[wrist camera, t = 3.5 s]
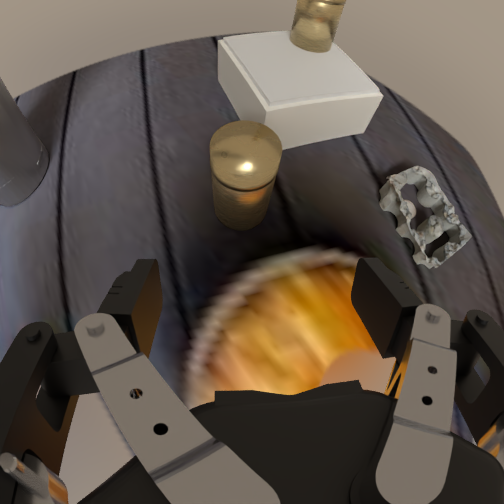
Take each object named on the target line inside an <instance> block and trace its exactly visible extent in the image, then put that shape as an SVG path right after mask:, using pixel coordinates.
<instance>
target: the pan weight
mask: <svg viewBox="0 0 504 504" xmlns="http://www.w3.org/2000/svg"><path fill="white" fill-rule="evenodd" d="M345 2H346V0H297V5H296V10H295V15H294V20H293V25H292V30H291V35H290V41H291V42H292V44H294V45H295V46H297V47H298V48H300V49H303V50H306V51H309V52H315V53H324V52H328V51H329V50H330V49H331V46H332V43H333V40H334V37H335V33H336V30H337V27H338V24H339V20H340V17H341V14H342V10H343V7H344V4H345Z"/></svg>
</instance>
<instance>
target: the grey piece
mask: <svg viewBox="0 0 504 504" xmlns="http://www.w3.org/2000/svg"><path fill="white" fill-rule="evenodd" d="M386 179H389V180H388V181H387V182H386V184H385V185H384V186H383V187H382V188H381V189H380V190H379V192H380V195H381V200H380V202H379V205H380V207H381V208H382V209H383V211H390V212H392V213H393V214H394V215H395V216H396V217H397V219H398V227H397V228H396V231H397V232H398V233H399V234H400V235H401V237H407V238H409V239H410V240H411V241H412V242H413V244H414V246H415V252H414V255H413V258H414V260H415V262H416V263H417V264H424V265H426V266H427V267H428V268H429V269H430V268H431V267H433V266H435V268H437V267H438V266H439V265H441V264H442V263H443V262H444V261H446V260H447V259H448V258H449V257H450V256H452V255H453V254H454V253H455V252H456V251H458V250H459V249H460V248H461V247H462V246H463V245H465V244H466V243H467V242H468V241H469V239H470V238H471V237H472V236H471V234H470V233H469V232H468V231H467V230H466V228H465V227H464V225H463V224H461V223H460V222H459V219H458V215H455V213H454V206H453V205H452V204H451V203H450V202H449V201H448V199H447V197H446V195H445V194H444V193H443V192H442V190H441V189H440V187H439V185H438V183H437V181H436V179H435V177H434V175H433V174H432V173H431V172H430V171H429V170H427V169H425V168H422V167H420V166H415V167H412V168H410V169H408V170H404V171H402V172H401V173H399V174H394V175H391V176H388V177H386ZM406 183H408V184H414V185H415V186H416V187H417V188H418V190H419V191H418V192H417V199H418V201H419V202H420V204H421V205H422V206H424V207H430V208H431V209H432V210H433V212H434V214H435V215H431V216H430V217H429V218H427V219H426V220H425V221H424V222H422V223H421V224H420V225H419V226H418V227H417V231H416V230H414V229H410V221H411V218H413V217H414V216H415V215H416V208H415V206H414V204H413V203H412V202H410V201H408V200H403V199H402V196H401V191H400V189H401V188H402V187H403V186H404V185H405V184H406ZM443 232H446V233H447V234H448V236H449V238H450V239H449V241H448V242H447V243H446V244H445V245H443V246H442V247H440V248H438V249H437V250H435V251H434V252H433V255H432V257H430V258H427V256H426V254H425V252H424V250H425V245H426V244H429V243H431V242H432V241H434V240H435V239H437V238H438V237H439V236H441V235H442V234H443Z"/></svg>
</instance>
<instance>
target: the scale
mask: <svg viewBox="0 0 504 504" xmlns="http://www.w3.org/2000/svg"><path fill="white" fill-rule="evenodd" d="M290 35H291V31H275V32H263V33H253V34H244V35H236V36H229V37H223V40H218V81H219V83H220V85H221V86H222V88H223V90H224V92H225V93H226V95H227V97H228V99H229V101H230V102H231V104H232V106H233V108H234V110H235V111H236V113H237V115H238V117H239V119H240V120H241V121H242V120H247V121H254V122H258V123H261V124H264V125H266V126H267V127H269V128H270V129H272V130H273V131H274V132H275V133H276V134H277V136H278V137H279V139H280V141H281V144H282V150H284V149H288V148H293V147H297V146H301V145H306V144H310V143H315V142H319V141H324V140H329V139H334V138H339V137H344V136H349V135H354V134H360V133H364V131H365V129H366V127H367V126H368V124H369V122H370V120H371V118H372V116H373V115H374V113H375V111H376V109H377V107H378V105H379V103H380V102H381V100H382V98H383V95H382V94H381V93H380V91H379V90H380V89H379V88H378V87H377V86H376V85H375V84H374V83H373V82H372V80H371V79H370V78H369V77H368V76H367V75H366V74H365V73H364V72H363V71H362V70H361V69H360V68H359V67H358V66H357V65H356V64H355V63H354V62H353V61H352V60H351V59H350V58H349V57H348V56H347V55H346V54H345V53H344V52H343V51H342V50H341V49H340V48H339V47H338V46H337V45H336V44H335V43H334V42H333V43H332V46H331V49H330V50H329V51H328V52H324V53H315V52H309V51H306V50H303V49H300V48H298V47H297V46H295V45H294V44H292V42H291V41H290Z"/></svg>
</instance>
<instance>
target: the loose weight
mask: <svg viewBox="0 0 504 504" xmlns="http://www.w3.org/2000/svg"><path fill="white" fill-rule="evenodd" d="M281 154H282V144H281V141H280V139H279V137H278V136H277V134H276V133H275V132H274V131H273V130H272V129H270V128H269V127H267V126H266V125H264V124H261V123H258V122H254V121H247V120H242V121H235V122H231V123H228V124H226V125H224V126H222V127H221V128H219V129H218V130H217V131H216V132H215V133H214V135H213V136H212V138H211V141H210V167H211V173H212V187H213V199H214V210H215V214H216V216H217V218H218V220H219V221H220V222H221V223H222V224H223V225H225V226H226V227H228V228H230V229H233V230H249V229H252V228H254V227H256V226H257V225H259V224H260V223H261V222H262V221H263V219H264V218H265V215H266V213H267V209H268V205H269V201H270V197H271V193H272V189H273V185H274V182H275V178H276V175H277V172H278V169H279V164H280V158H281Z"/></svg>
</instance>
